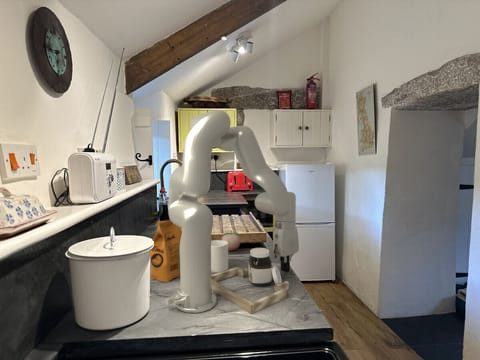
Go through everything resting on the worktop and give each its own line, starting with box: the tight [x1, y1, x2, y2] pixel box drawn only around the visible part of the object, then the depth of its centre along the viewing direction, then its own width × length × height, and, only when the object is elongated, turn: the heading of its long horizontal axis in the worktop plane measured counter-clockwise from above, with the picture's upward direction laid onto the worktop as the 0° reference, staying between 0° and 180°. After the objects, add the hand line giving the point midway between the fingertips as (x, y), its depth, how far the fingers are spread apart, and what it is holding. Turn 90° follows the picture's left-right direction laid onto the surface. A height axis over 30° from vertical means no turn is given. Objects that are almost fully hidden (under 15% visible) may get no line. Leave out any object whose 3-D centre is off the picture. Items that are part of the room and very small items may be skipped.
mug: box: [211, 239, 229, 274], centre depth 118 cm, size 9×12×11 cm
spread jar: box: [247, 247, 283, 287], centre depth 103 cm, size 12×11×12 cm
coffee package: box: [149, 219, 182, 283], centre depth 109 cm, size 10×12×22 cm
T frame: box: [211, 266, 290, 315], centre depth 99 cm, size 20×25×2 cm
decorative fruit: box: [221, 230, 242, 252], centre depth 138 cm, size 9×8×10 cm
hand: (285, 271), depth 111 cm, fingers closed
